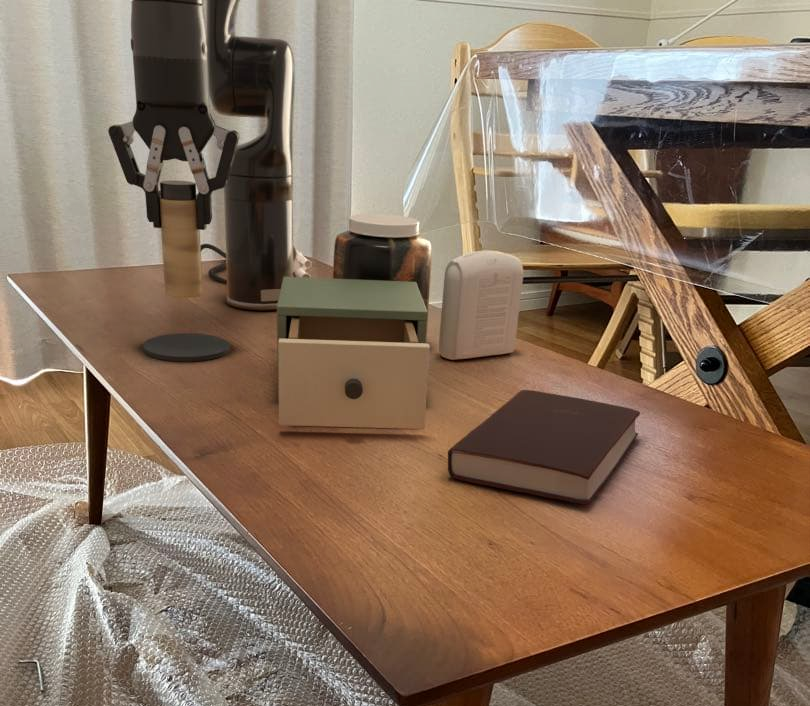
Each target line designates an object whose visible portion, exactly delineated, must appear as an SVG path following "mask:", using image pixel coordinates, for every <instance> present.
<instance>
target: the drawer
mask: <svg viewBox="0 0 810 706" xmlns="http://www.w3.org/2000/svg"><path fill="white" fill-rule="evenodd" d="M430 354H431V347H430V344H429V343H427V342H426V343H419V342H418V339H417V336H416V332H415V329H414V326H413V323H412V320H395V319H368V318H340V317H313V316H292V318H291V325H290V331H289V339H279V341H278V366H279V402H278V425H279V426H289V427H290V426H292V427H326V428H327V427H328V428H331V427H332V428H364V429H365V428H368V429H404V430H405V429H406V430H407V429H408V430H409V429H410V430H424V429H425V427H426V412H427V411H426V410H427V397H428V383H429V369H430V368H429V367H430Z"/></svg>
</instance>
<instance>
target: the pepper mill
mask: <svg viewBox="0 0 810 706" xmlns="http://www.w3.org/2000/svg"><path fill="white" fill-rule="evenodd" d="M159 191H160V192H161V197H159V205H160V221H161V228H160V235H161V249H162V250H161V251H162V262H163V267H162V268H163V280H164V294H165V295H166V296H168V297H171V298H179V299H188V298H198V297H200V296H202V295H203V293H204V291H203V290H204V289H203V271H202V251H201V246H200V245H201V230H198V217H197V196H196V195H197V185H196V182H195V181H188V180H161V181H159Z"/></svg>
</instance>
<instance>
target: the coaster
mask: <svg viewBox="0 0 810 706" xmlns="http://www.w3.org/2000/svg"><path fill="white" fill-rule="evenodd" d="M142 350H143V353H144V354H145V355H147V356H148V357H150V358H153V359H157V360H161V361H162V360H163V361H168V362H181V363H182V362H183V363H185V362H186V363H188V362H189V363H191V362H192V363H193V362H204V361H209V360H215V359H218V358H221V357H224V356H226V355H228V353H229V352H230V350H231V345H230V343H229V342H228V340H226V339H225V338H222V337H220V336H217V335H213V334H212V335H211V334H204V333H192V332H189V333H188V332H187V333H186V332H184V333H183V332H181V333H170V334H163V335H158V336H157V335H156V336H155V337H154V336H153V337H150V338H148V339H146V340H145V341H144V342H143V344H142Z"/></svg>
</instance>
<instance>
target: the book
mask: <svg viewBox="0 0 810 706" xmlns="http://www.w3.org/2000/svg"><path fill="white" fill-rule="evenodd" d="M640 415H641V411H639V410H637V409H633V408H631V407H625V406H621V405H615V404H611V403H606V402H601V401H595V400H590V399H585V398H580V397H574V396H569V395H562V394H556V393H550V392H543V391H538V390H531V389H529V390H528V389H523V390H522V389H521V390H520V391H518V392H517V393H516V394H515V395H514V396H512V397H511V398H510V399H509V400H508V401H507V402H506V403H504V404H503V405H502V406H501V407H499V408H498V409H497V410H496V411H495V412H493V413H492V414H491V415H490V416H489V417H487V418H486V419H485V420H484V421H482V422H481V423H480V424H479V425H477V426H475V428H473V429H472V430H470V431H469V432H468V433H467V434H466V435H465V436H464V437H462V438H461V439H460V440H459V441H457V442H456V443H454V445H453V446H451V447H450V448H449V450H447V471H448V474H449V476H450V477H451V478H452V479H457V480H459V481H463V482H468V483H473V484H476V485H482V486H489V487H493V488H497V489H503V490H507V491H512V492H519V493H525V494H529V495H533V496H534V495H535V496H538V497H544V498H549V499H554V500H555V499H556V500H560V501H565V502H569V503H572V504H573V503H575V504H581V505H588V504H589V503H590V502H591V501H592V500H593V499H594V498H595V496H596V495H597V494H598V492H599V491H600V490H601V488H602V486H604V484H605V483H606V482H607V480H608V479H609V477H610V476H611V475H612V473H613V472H614V470H616V468H617V466H618V465H619V464H620V462H621V461H622V459H623V458H624V457H625V455H626V453H627V452H628V450H629V449H630V447H631V446H632V445H633V443H634V442H635V440H636V439H637V437H638V435H639V433H638V432H637V431H636V420H637V418H638V417H639V416H640Z"/></svg>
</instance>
